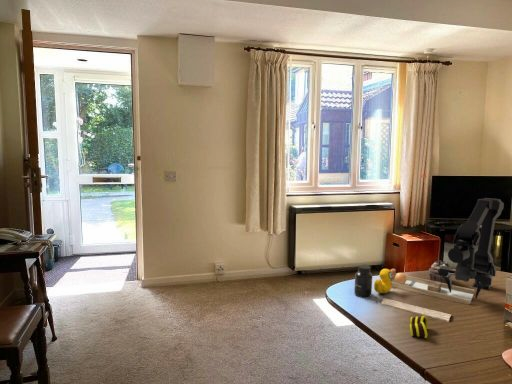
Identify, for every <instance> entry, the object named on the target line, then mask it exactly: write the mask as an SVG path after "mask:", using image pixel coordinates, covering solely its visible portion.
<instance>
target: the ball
mask: <svg viewBox="0 0 512 384" xmlns="http://www.w3.org/2000/svg"><path fill="white" fill-rule="evenodd" d="M396 273H397V274H396V275H395V280H396V282H397V283H399V284H404V283H405V282H406V281H407V277H406V276H407V274H405V273H403V272H396Z"/></svg>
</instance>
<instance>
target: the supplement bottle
mask: <svg viewBox="0 0 512 384" xmlns="http://www.w3.org/2000/svg"><path fill="white" fill-rule="evenodd" d="M372 289H373V274H372V273H371V266H369V265H366V264H361V265H358V267H357V272H356V273H355V274H354V290H353V291H354V295H356V296H357V297H359V298H364V297H365V298H366V297H367V298H370V297H371V295H372V292H373V291H372ZM365 298H364V299H365Z"/></svg>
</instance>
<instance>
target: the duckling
mask: <svg viewBox="0 0 512 384" xmlns="http://www.w3.org/2000/svg"><path fill="white" fill-rule="evenodd" d="M393 275H394V270H391V269H388V268H383V269H381V270H380V272H379V278H377V279H375V280H374V285H373V286H374V287H373V288H374V290H375V292H376V293H379V294H386V293H389V292H390V291H391V290H392V288H393V287H392V282H391V281H390V280H391V278H392V276H393Z"/></svg>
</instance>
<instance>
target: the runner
mask: <svg viewBox="0 0 512 384" xmlns="http://www.w3.org/2000/svg"><path fill="white" fill-rule="evenodd" d="M391 282H394V283H397V282H396V280H395V278H394V279H393V280H392V281H391ZM398 284H399V283H398ZM403 285H407V286H412V287H416V288H421V289H425V290H428V284H423V283H419V282H414V281H409V280H407V281H406V282H405V283H404V284H403ZM439 293H443V294H447V295H452V296H456V297H461V298H465V299H470V303H471V302H472V299H473V297H474V296H475V293H474V294H470V293H465V292H461V291H456V290H451V293H450V292H449V289H447V288H442V287H441V290H440V292H439Z"/></svg>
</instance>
